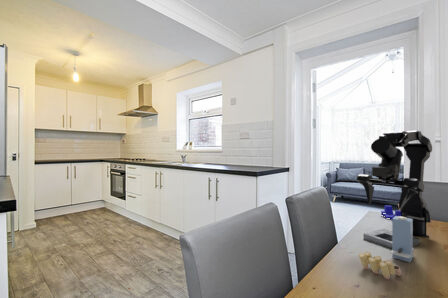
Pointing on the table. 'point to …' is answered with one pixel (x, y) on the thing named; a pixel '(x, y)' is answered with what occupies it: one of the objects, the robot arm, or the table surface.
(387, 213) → the cable clip
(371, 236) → the plate
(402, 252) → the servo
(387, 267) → the ammunition
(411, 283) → the table surface
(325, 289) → the table surface
